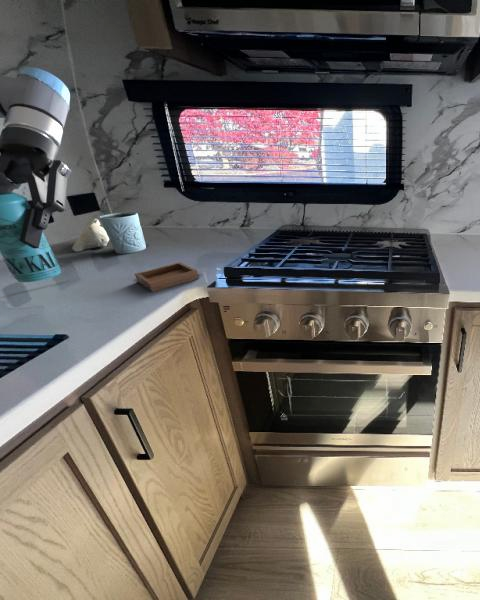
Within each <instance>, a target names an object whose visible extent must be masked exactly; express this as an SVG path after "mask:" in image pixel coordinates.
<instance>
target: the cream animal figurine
mask: <svg viewBox="0 0 480 600" xmlns="http://www.w3.org/2000/svg"><path fill="white" fill-rule="evenodd" d="M101 224H102V223H101V221H100V220H99V219H97V218H94V219H93V220H92V221H91V222H90V223H89V225H88V226H87V227H86V229H85V230H83V232H82V233H81V235H80V236H79V237H78V238H77V239H76V241H75V243H74V244H73V246H71V249H72V251H74V252H75V253H76V252H83V251H85V250H88V249H90V250H91V249H95V248H104V247H107V245H108V243H109V241H110V239H109V237H108V235H107V232H106V230H105V228H104V227H103V226H101Z"/></svg>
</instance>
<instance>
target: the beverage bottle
mask: <svg viewBox="0 0 480 600" xmlns="http://www.w3.org/2000/svg"><path fill="white" fill-rule="evenodd" d="M4 185H11V184H10V182H9V179H8V178H7V177H6V176H5V174H4V173H0V186H4ZM27 208H31V205H30V203H29V202H28V199H27V198H26V197H25V196H23V195H22V194H19V193H17V192H14V191H12V192H10V193H0V255H1V256H2V260H3V262H4V264H5V265H6V267H7V268H8V270H9V273H11V276H12V277H13V278H14V279H15V280H16V281H17V282H18V283H32V282H38V281H43V280H48V279H51V278H53V277H54V278H55V277H57V276H59V275H60V274H62V273H61V272H62V268H61V266H60V263H59V261H58V258H57V257H56V255H55V253H54V250H53V249H52V247H51V244H50V243H49V241H48V238H47V237H46V234H45V232H44V231H43V232H42V236H41V241H40V245H39V248H35V249H34V248H32V247H30V246H28V245H26V244H24V243H22V242H20V241H19V240H20V236H21V232H22V228H23V224H24V220H25V216H26V212H27Z"/></svg>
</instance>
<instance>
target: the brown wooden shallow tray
mask: <svg viewBox="0 0 480 600" xmlns="http://www.w3.org/2000/svg"><path fill="white" fill-rule="evenodd" d="M134 276H135V279H136V281H137V283H139V284H140V285H141V286H143V287H144V288H146V289H147V290H148V291H149V292H151V293H154V292H157V291H160V290H164V289H168V288H171V287H175V286H178V285H181V284H184V283H188V282H191V281H194V280H198V279H200V276H199V272H198V270H197V269H195V268H193V267H191V266H189V265H187V264H184V263H182V262H175V263H172V264H168V265H164V266H160V267H156V268H151V269H148V270H144V271H140V272H136V273H134Z"/></svg>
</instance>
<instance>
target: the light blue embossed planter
mask: <svg viewBox="0 0 480 600" xmlns="http://www.w3.org/2000/svg"><path fill="white" fill-rule="evenodd" d="M99 221H100V223H101V224H102V227H103V228H104V230H105V231H106V233H107V235H108V237H109V241H110V243H111V245H112V248H113V250H114V252H115V253H116V254H118V255H124V254H125V255H126V254H133V253H138V252H142V251H144V250H145V249H147V245H146V241H145V237H144V233H143V229H142V226H141V222H140V218H139V214H138V213H137V212H131V211H128V212H127V211H125V212H114V213H108V214H103V215H100V216H99Z"/></svg>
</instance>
